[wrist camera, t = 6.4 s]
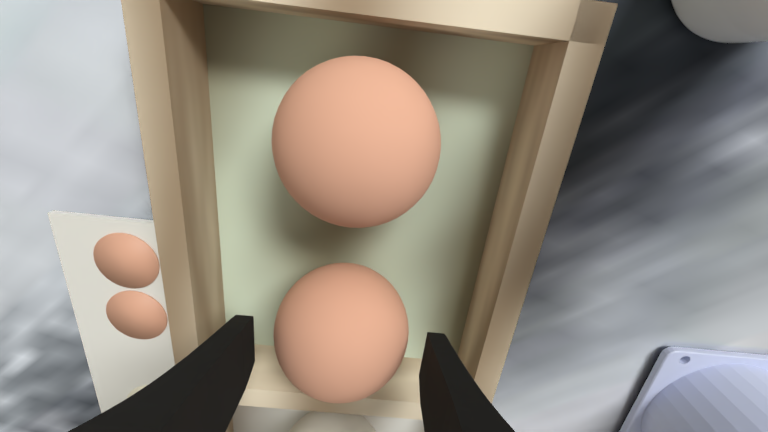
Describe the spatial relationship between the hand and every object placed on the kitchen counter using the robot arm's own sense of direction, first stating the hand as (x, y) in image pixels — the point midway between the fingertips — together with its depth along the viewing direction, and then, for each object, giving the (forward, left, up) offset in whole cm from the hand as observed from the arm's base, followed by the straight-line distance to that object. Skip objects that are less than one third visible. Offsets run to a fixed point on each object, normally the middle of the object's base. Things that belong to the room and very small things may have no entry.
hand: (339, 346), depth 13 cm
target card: (+10, +5, -4) cm, 12 cm away
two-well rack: (0, +4, -4) cm, 6 cm away
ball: (0, -7, -1) cm, 7 cm away
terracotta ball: (0, 0, -1) cm, 1 cm away
